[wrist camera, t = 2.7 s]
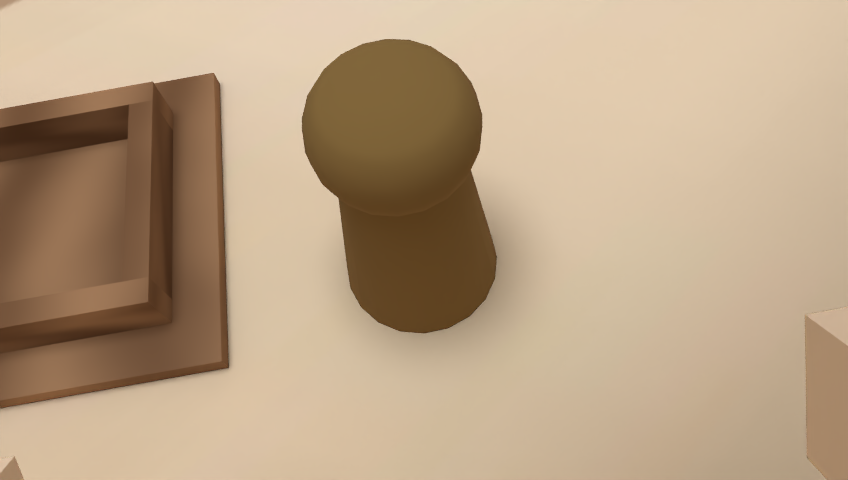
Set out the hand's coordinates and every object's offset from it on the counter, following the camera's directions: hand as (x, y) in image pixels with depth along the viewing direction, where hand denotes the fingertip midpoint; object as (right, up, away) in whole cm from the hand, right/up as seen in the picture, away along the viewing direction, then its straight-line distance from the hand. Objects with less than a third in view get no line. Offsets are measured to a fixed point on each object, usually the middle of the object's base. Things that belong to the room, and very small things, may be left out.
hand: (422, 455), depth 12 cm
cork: (0, +3, +17) cm, 18 cm away
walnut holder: (-17, +3, +19) cm, 26 cm away
